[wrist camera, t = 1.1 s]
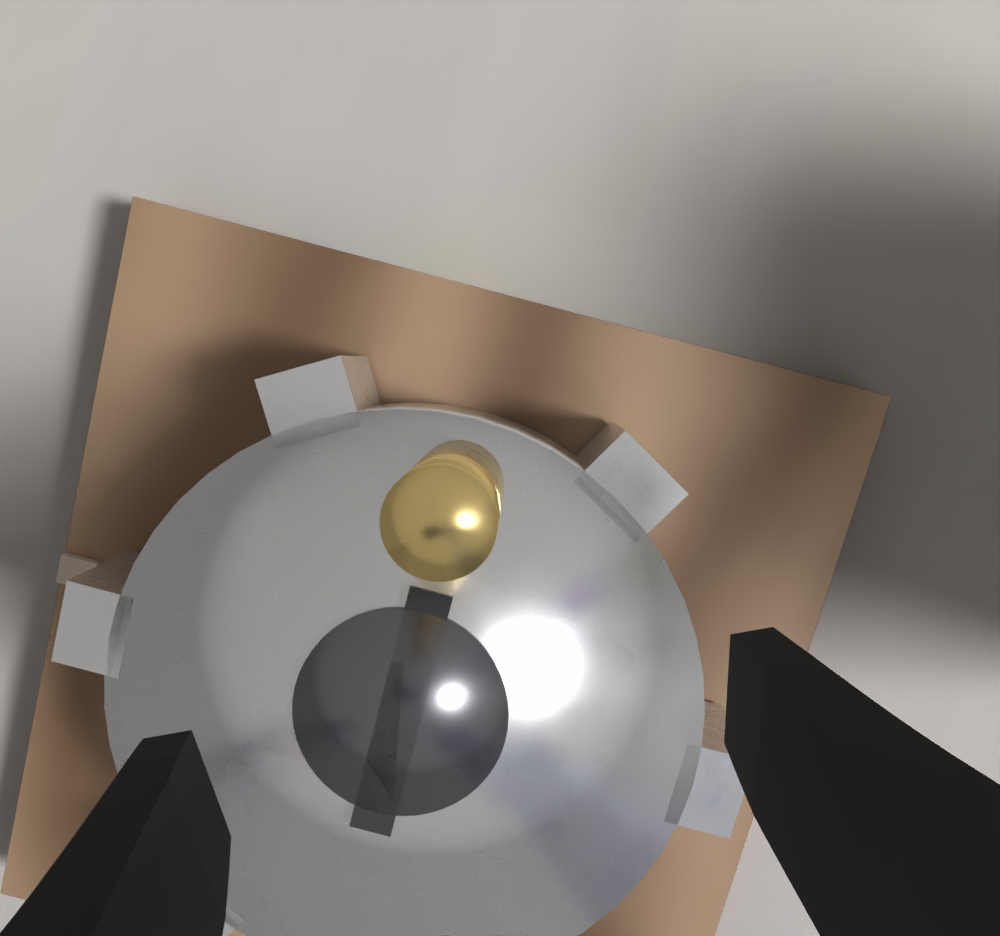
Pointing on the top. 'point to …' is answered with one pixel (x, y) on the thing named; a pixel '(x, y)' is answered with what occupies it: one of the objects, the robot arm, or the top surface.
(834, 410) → the base plate
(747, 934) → the top surface
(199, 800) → the robot arm
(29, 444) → the top surface
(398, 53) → the top surface
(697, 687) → the gear wheel
